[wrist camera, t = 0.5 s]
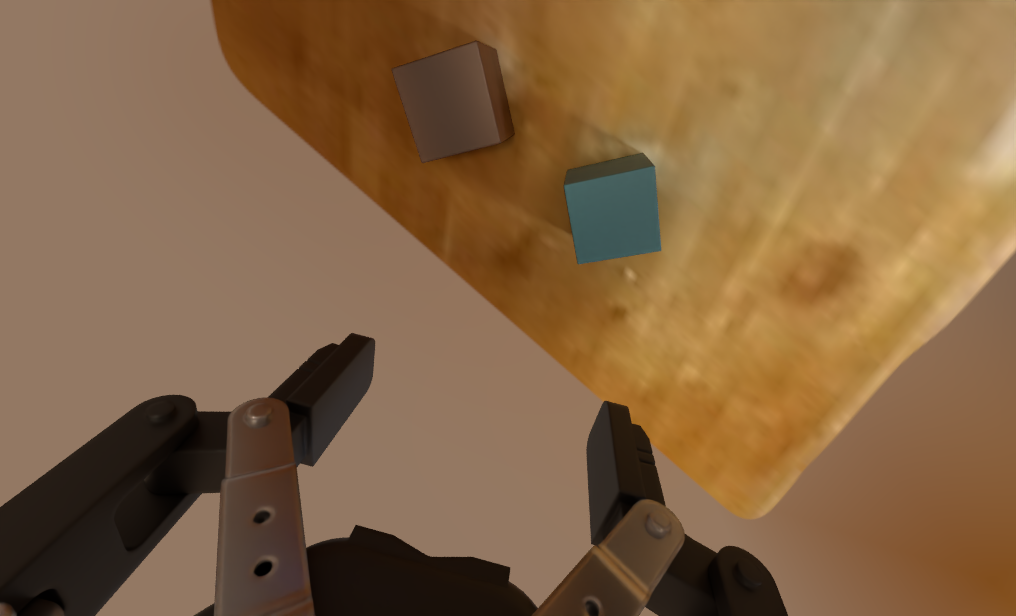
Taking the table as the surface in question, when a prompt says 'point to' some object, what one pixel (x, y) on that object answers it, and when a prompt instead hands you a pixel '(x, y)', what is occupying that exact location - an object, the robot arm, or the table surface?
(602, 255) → the teal block
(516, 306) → the table surface
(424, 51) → the table surface
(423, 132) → the walnut block
